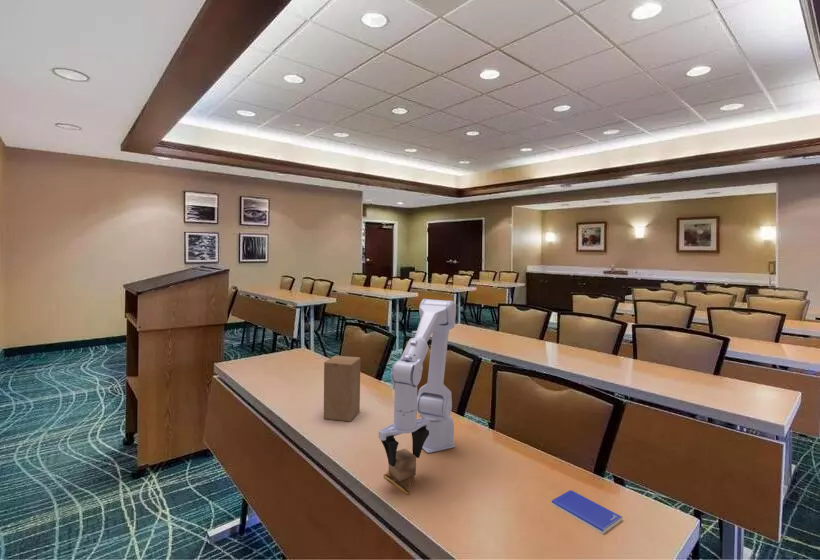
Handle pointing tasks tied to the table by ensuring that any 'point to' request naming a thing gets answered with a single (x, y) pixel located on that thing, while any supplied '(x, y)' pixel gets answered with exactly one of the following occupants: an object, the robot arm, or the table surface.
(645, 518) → the table surface
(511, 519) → the table surface
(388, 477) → the shard
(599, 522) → the hard drive
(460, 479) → the table surface
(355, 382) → the wooden block
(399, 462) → the walnut cube
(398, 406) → the robot arm
